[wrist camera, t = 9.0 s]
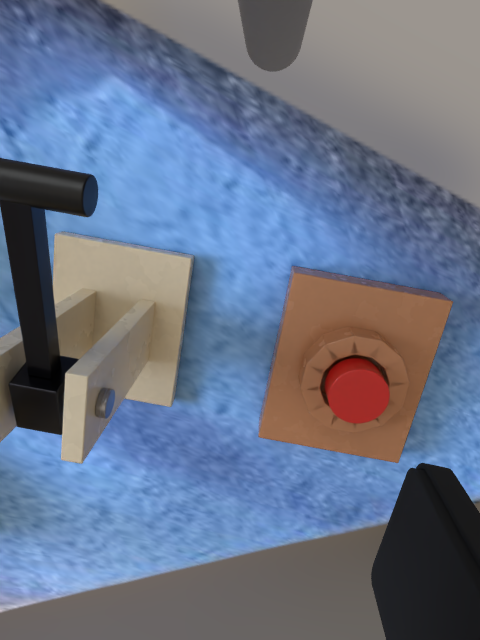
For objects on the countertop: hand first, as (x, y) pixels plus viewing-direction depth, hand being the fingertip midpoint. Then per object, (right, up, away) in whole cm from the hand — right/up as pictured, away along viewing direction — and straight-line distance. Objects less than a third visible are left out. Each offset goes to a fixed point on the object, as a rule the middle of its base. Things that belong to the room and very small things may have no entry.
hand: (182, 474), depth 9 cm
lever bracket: (-7, +3, +22) cm, 23 cm away
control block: (+9, 0, +22) cm, 23 cm away
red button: (+8, -1, +18) cm, 20 cm away
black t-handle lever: (-7, +4, +10) cm, 13 cm away
